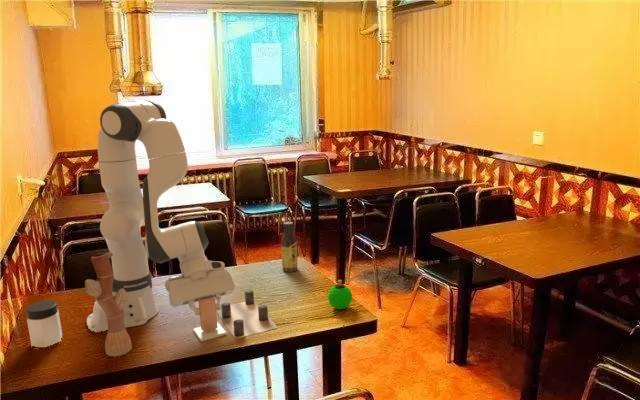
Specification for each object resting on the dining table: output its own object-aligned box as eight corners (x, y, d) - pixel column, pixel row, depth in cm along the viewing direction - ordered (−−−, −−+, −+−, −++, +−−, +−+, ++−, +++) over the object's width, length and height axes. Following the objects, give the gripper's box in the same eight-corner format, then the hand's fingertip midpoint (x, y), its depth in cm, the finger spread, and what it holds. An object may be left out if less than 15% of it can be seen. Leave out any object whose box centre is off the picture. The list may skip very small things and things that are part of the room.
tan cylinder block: (203, 332, 154) (201, 305, 152) (198, 326, 159) (196, 299, 157) (219, 328, 157) (217, 301, 155) (214, 322, 161) (212, 295, 159)
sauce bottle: (295, 273, 205) (293, 225, 201) (280, 272, 206) (278, 225, 202) (299, 267, 211) (297, 221, 207) (285, 266, 213) (282, 220, 208)
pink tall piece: (133, 341, 154) (121, 247, 147) (134, 352, 148) (122, 254, 141) (95, 349, 151) (81, 252, 144) (95, 361, 144) (80, 260, 137)
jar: (56, 332, 161) (51, 297, 159) (68, 340, 156) (62, 304, 153) (26, 344, 155) (19, 307, 152) (37, 352, 150) (31, 314, 147)
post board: (235, 340, 154) (233, 325, 153) (214, 309, 175) (213, 296, 174) (278, 329, 160) (277, 315, 159) (253, 301, 181) (252, 288, 180)
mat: (200, 341, 153) (200, 339, 153) (193, 330, 160) (193, 328, 159) (226, 334, 157) (226, 332, 156) (218, 324, 163) (217, 322, 163)
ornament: (349, 314, 167) (348, 286, 165) (325, 312, 170) (324, 284, 167) (354, 304, 175) (354, 277, 173) (332, 302, 177) (331, 275, 175)
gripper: (164, 274, 155) (175, 316, 149) (228, 261, 164) (241, 300, 158) (162, 283, 160) (173, 324, 153) (224, 270, 169) (237, 308, 163)
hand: (208, 312), depth 156 cm, fingers closed on tan cylinder block, 5 cm apart
